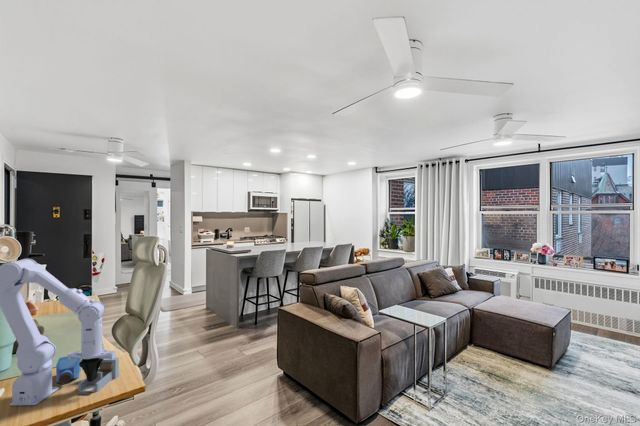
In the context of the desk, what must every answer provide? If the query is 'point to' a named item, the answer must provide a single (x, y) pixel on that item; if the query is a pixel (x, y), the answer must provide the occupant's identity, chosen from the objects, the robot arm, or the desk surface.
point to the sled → (98, 377)
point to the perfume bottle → (67, 369)
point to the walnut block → (106, 367)
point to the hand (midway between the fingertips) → (91, 380)
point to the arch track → (89, 389)
